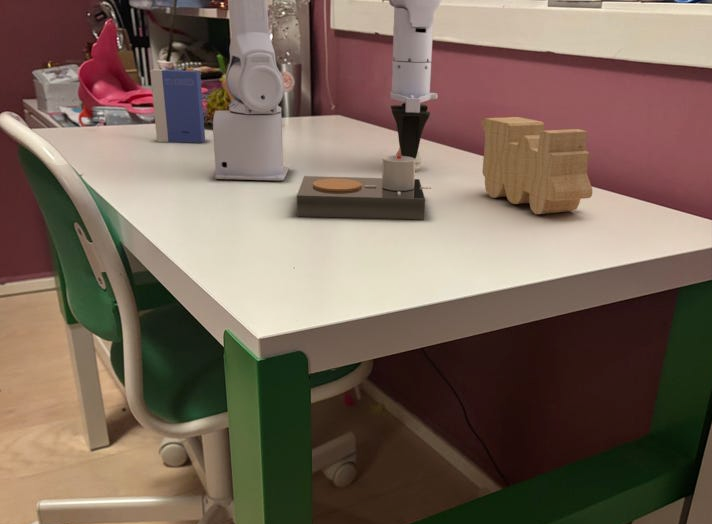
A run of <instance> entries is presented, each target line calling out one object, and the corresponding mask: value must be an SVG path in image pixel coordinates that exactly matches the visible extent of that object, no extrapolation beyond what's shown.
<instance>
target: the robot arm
mask: <svg viewBox="0 0 712 524" xmlns="http://www.w3.org/2000/svg"><path fill="white" fill-rule="evenodd" d="M227 1H228V3H227V4H228V11H229V13H228V14H229V23H230V32H231V37H230V43H229V50H228V51H229V64H228V67H227V70H226V72H225V75H226V86H227V89H228V91H229V93H230V94H231V95H232V97H233V98H234V99H233V100H232V102H231V103H230V105H229V111H216V112H215V114H214V118H213V126H212V137H213V138H212V139H213V150H214V151H213V152H214V165H215V175H214V178H215V179H216V180H245V181H247V180H249V181H284V180H285V178H286V176H287V174H288V172H289V167H288V166H284V148H283V144H284V143H283V116H282V115H283V114H282V106H279V104H280V103H281V101H282V100H283V97H284V95H285V89H286V88H285V82H284V81H285V80H284V78H283V75H282V73H281V71H280V70H279V68H278V66H277V62H276V52H275V48H274V45H273V44H272V40H271V37H270V36H271V35H270V28H269V27H270V26H269V16H268V14H269V13H268V2H267V0H227ZM441 2H442V0H388V3H389V5H390V6H391V7H393V28H392V29H393V30H392V31H393V35H392V61H391V62H392V64H391V70H392V71H391V91H390V92H389V98H390V99H391V100H394V101H398V102H402V103H401V105H390V109H391V114H392V116H393V118H394V121H395V124H396V128H397V137H398V145H399V148H400V150H401V155H402V156H408V157H412V158H415V159H416V156H417V152H419V147H420V143H421V138H422V134H423V131H424V128H425V126H426V124H427V122H428V120H429V118H430V116H431V112H430V111H428V105H427V104H423V103H424V102H428V101H431V100H437V99H438V97H439V96H438V93H437V92H436V93H435V92H431V77H432V74H431V73H432V55H433V37H434V35H433V34H434V15H435V12H436V10H438V8H439V6H440V4H441ZM421 103H422V104H421Z"/></svg>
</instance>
